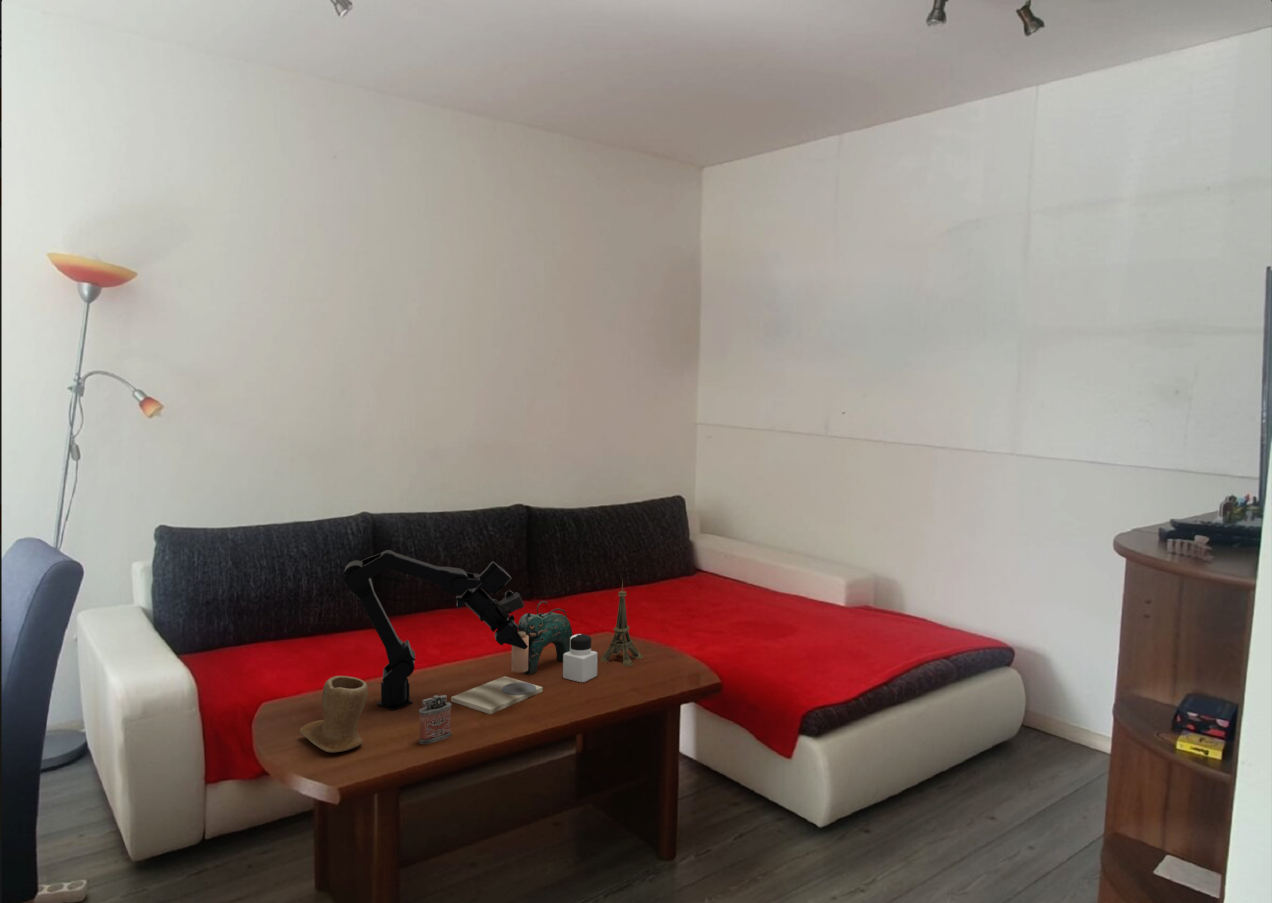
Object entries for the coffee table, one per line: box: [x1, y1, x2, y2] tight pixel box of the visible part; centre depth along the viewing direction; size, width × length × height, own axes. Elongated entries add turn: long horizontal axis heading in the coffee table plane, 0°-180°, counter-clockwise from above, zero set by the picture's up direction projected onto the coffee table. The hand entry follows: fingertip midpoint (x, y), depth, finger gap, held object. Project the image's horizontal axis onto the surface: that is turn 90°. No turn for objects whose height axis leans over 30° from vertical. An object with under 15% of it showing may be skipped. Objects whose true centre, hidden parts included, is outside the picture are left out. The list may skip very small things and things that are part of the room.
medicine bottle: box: [562, 633, 598, 684], centre depth 240 cm, size 7×7×12 cm
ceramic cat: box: [517, 600, 574, 675], centre depth 248 cm, size 20×6×20 cm, turn 141°
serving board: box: [450, 675, 544, 715], centre depth 224 cm, size 20×14×1 cm
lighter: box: [418, 694, 452, 745], centre depth 197 cm, size 8×3×10 cm, turn 135°
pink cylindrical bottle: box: [511, 630, 529, 674], centre depth 225 cm, size 4×4×10 cm
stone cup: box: [299, 675, 369, 753], centre depth 193 cm, size 15×12×15 cm
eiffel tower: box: [599, 578, 644, 668], centre depth 256 cm, size 11×11×25 cm
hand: (525, 645), depth 225 cm, fingers closed on pink cylindrical bottle, 4 cm apart
